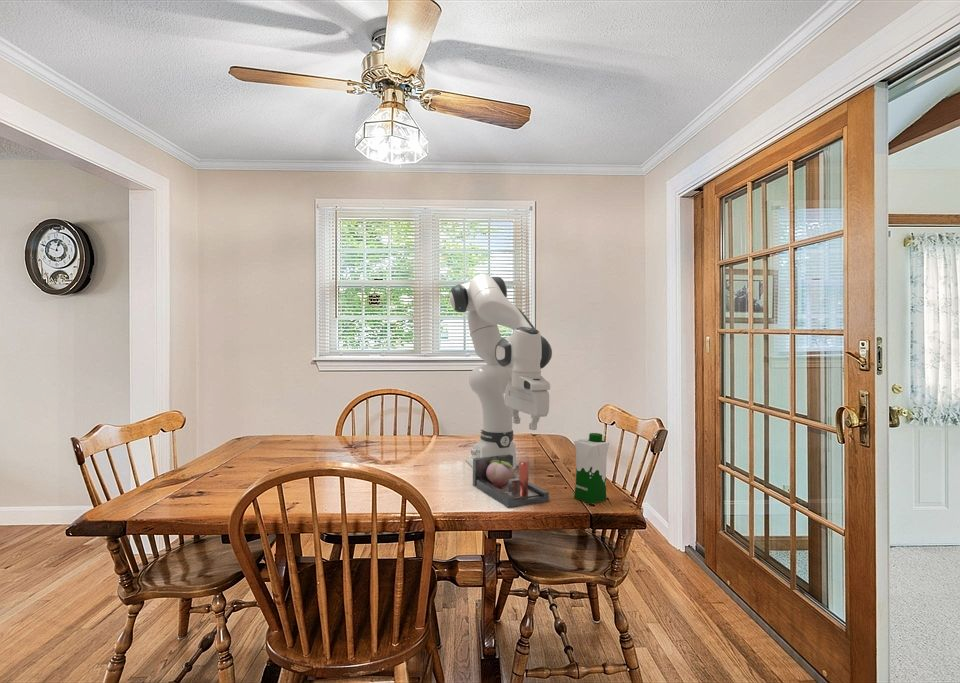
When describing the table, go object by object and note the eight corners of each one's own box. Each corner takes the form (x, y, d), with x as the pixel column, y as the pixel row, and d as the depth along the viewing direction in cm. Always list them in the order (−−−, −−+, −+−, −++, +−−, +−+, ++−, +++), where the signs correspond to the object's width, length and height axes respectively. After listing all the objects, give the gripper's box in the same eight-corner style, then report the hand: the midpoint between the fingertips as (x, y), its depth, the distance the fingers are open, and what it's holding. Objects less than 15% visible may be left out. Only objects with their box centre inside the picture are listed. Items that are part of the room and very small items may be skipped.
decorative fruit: (519, 487, 171) (519, 457, 171) (507, 494, 164) (507, 462, 164) (494, 482, 176) (495, 453, 176) (481, 488, 169) (482, 458, 169)
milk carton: (610, 500, 160) (612, 435, 159) (591, 506, 154) (592, 439, 154) (588, 493, 167) (590, 431, 166) (569, 498, 161) (570, 434, 161)
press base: (472, 485, 173) (473, 458, 173) (509, 480, 179) (510, 454, 179) (508, 507, 152) (508, 477, 151) (548, 501, 158) (549, 472, 158)
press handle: (501, 498, 160) (502, 460, 159) (528, 494, 164) (529, 457, 164) (511, 504, 154) (512, 465, 154) (539, 500, 158) (540, 462, 158)
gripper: (500, 377, 165) (498, 420, 165) (535, 385, 146) (533, 434, 147) (517, 377, 167) (516, 419, 168) (553, 384, 149) (552, 432, 150)
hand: (524, 426), depth 157 cm, fingers open, 8 cm apart
